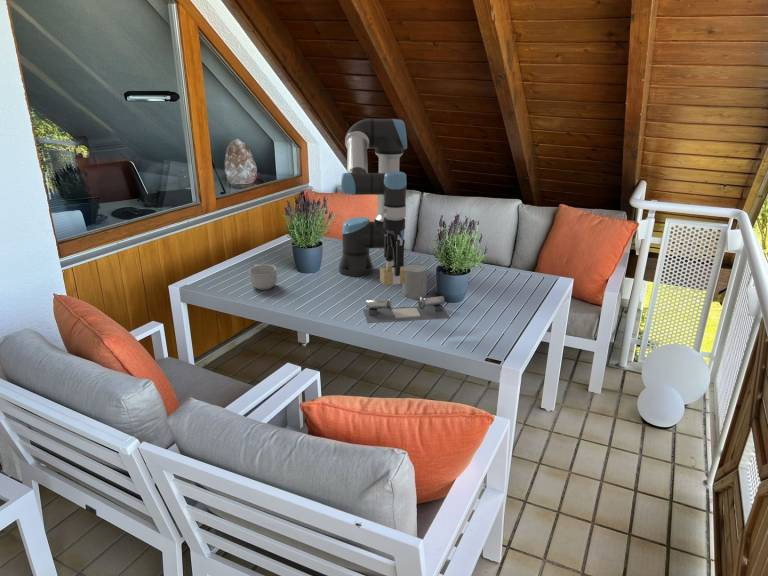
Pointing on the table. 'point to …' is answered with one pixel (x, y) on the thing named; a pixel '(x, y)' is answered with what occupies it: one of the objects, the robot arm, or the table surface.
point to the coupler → (387, 275)
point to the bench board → (389, 316)
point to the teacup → (263, 276)
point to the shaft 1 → (377, 306)
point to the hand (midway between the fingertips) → (393, 280)
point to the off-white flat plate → (406, 312)
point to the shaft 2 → (432, 303)
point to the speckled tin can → (415, 281)
